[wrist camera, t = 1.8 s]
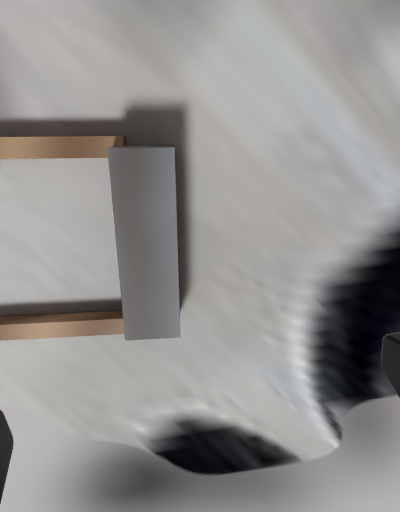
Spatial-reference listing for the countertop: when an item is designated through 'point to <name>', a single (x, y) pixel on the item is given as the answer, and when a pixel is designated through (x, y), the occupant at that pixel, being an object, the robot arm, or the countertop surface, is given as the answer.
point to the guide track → (119, 240)
